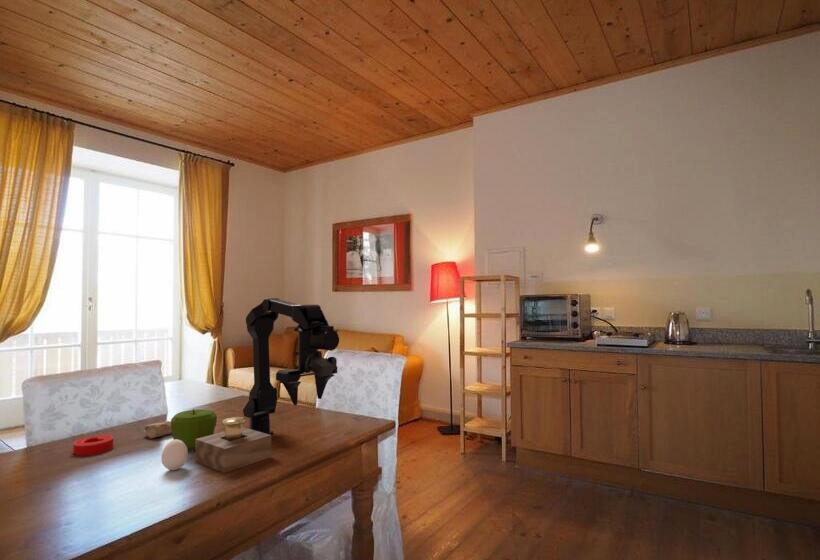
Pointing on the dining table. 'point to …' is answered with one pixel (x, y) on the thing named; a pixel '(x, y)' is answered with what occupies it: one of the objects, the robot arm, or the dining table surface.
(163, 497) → the dining table surface
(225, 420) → the peg
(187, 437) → the apple
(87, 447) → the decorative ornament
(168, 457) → the egg
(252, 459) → the socket block
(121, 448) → the dining table surface
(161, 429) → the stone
